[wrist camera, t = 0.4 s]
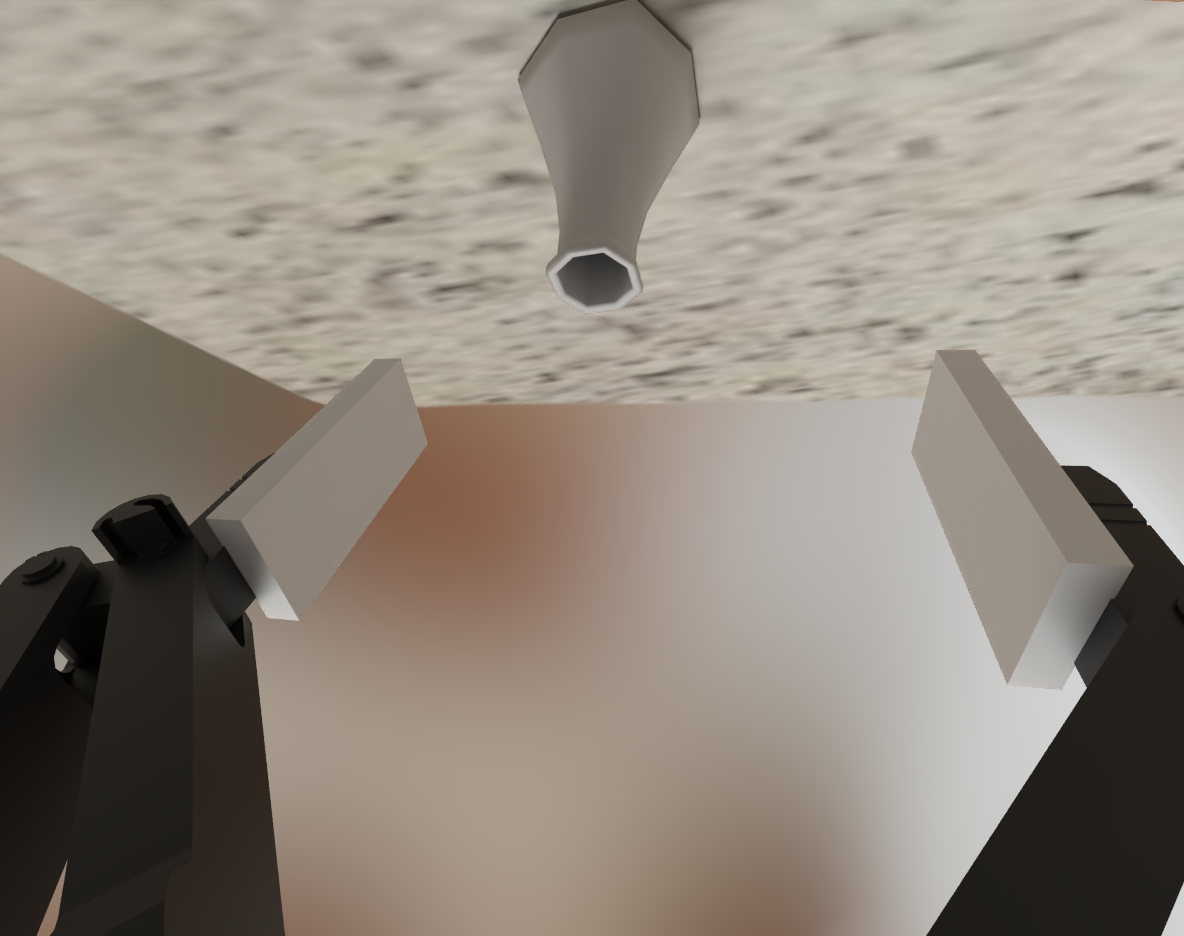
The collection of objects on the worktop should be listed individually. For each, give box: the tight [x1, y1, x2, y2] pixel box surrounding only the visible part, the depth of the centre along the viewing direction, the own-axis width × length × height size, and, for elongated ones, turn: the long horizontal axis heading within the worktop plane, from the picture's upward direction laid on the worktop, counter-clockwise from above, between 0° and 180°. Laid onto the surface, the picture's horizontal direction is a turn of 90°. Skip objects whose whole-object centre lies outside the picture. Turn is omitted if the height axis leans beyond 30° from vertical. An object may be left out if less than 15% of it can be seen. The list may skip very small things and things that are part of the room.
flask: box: [518, 0, 699, 314], centre depth 23 cm, size 7×7×10 cm
